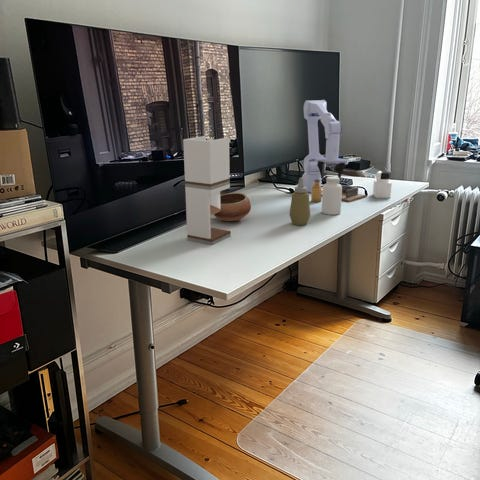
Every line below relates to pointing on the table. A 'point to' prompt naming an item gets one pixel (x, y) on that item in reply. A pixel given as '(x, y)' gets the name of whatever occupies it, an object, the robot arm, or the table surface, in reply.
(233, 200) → the bowl
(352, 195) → the bottle rest
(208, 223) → the white tower
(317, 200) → the amber bottle
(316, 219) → the table surface
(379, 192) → the medicine bottle
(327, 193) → the pill bottle
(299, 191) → the squeeze bottle
